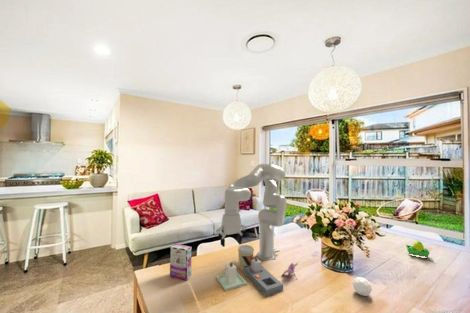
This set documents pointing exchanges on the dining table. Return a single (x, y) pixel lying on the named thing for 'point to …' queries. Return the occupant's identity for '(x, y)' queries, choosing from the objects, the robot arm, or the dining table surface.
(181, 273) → the candy bar box
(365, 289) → the geometric ball
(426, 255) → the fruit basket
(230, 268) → the cream plug
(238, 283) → the sage tray
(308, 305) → the dining table surface
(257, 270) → the grey twin plug
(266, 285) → the power strip
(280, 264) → the dining table surface
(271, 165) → the robot arm
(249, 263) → the coffee cup
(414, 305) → the dining table surface
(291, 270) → the lily
